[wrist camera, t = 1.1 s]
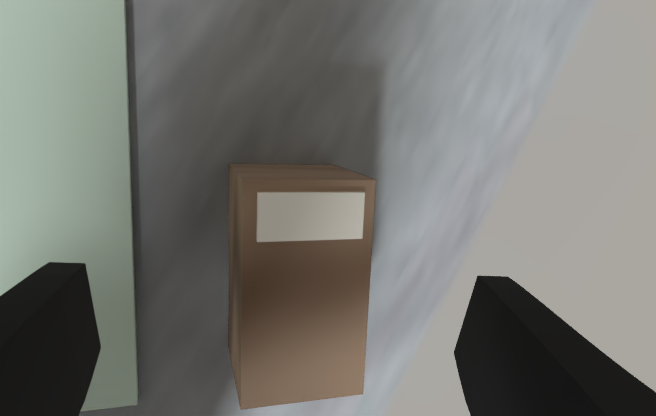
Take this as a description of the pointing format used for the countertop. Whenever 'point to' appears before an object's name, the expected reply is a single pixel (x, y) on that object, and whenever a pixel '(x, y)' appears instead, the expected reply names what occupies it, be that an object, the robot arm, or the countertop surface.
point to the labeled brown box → (298, 281)
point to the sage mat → (71, 166)
